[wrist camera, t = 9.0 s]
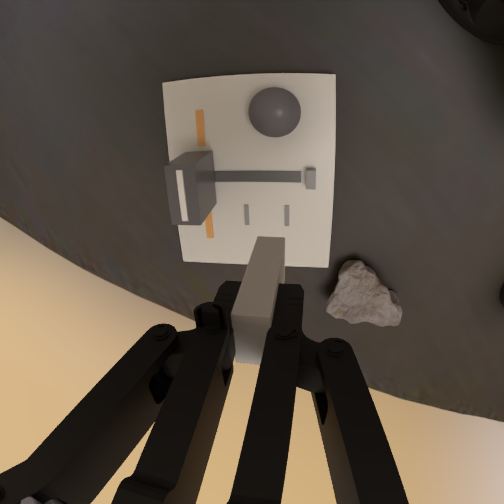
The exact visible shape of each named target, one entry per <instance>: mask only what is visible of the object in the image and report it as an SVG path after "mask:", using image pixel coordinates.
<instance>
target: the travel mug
mask: <svg viewBox="0 0 504 504" xmlns="http://www.w3.org/2000/svg"><path fill="white" fill-rule="evenodd" d="M500 300H501V303H502V305H503V307H504V284H503V286H502V288H501V292H500Z"/></svg>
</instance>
